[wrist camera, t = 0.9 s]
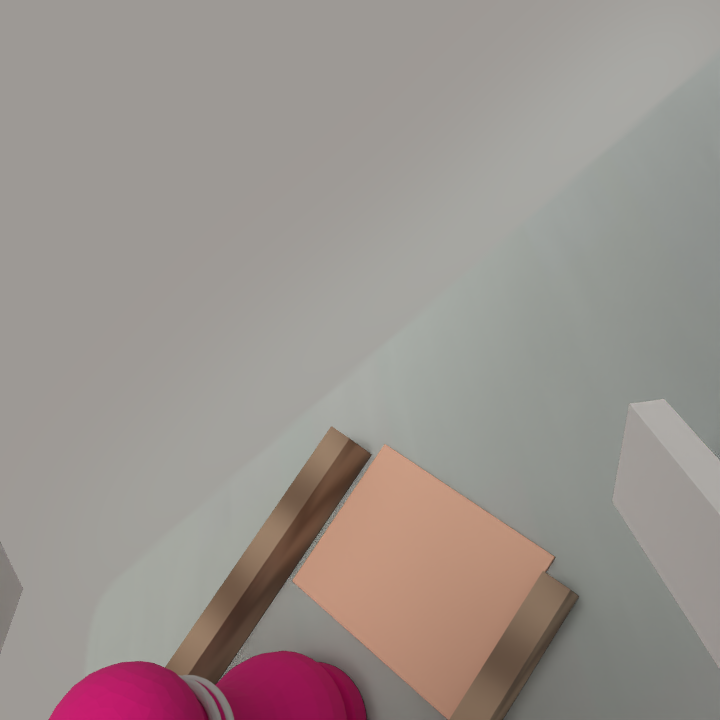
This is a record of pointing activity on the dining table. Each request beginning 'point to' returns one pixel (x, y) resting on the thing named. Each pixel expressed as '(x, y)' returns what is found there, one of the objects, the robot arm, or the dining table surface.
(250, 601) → the shallow wooden tray
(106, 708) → the pepper mill
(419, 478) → the front pad
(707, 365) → the dining table surface
